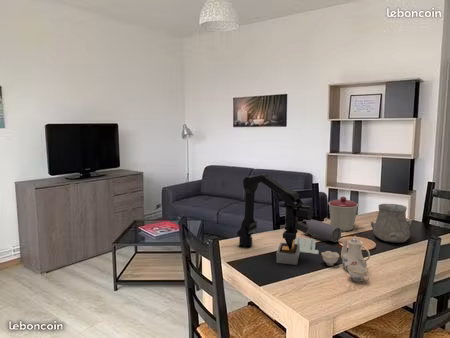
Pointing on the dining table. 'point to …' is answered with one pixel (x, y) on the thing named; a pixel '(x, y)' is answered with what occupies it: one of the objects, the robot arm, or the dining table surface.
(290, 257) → the open box
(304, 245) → the metal bracket
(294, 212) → the robot arm
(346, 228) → the canister
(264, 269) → the dining table surface
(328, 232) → the bluetooth speaker
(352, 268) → the chinaware
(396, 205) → the vessel
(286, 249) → the wood grain brick
